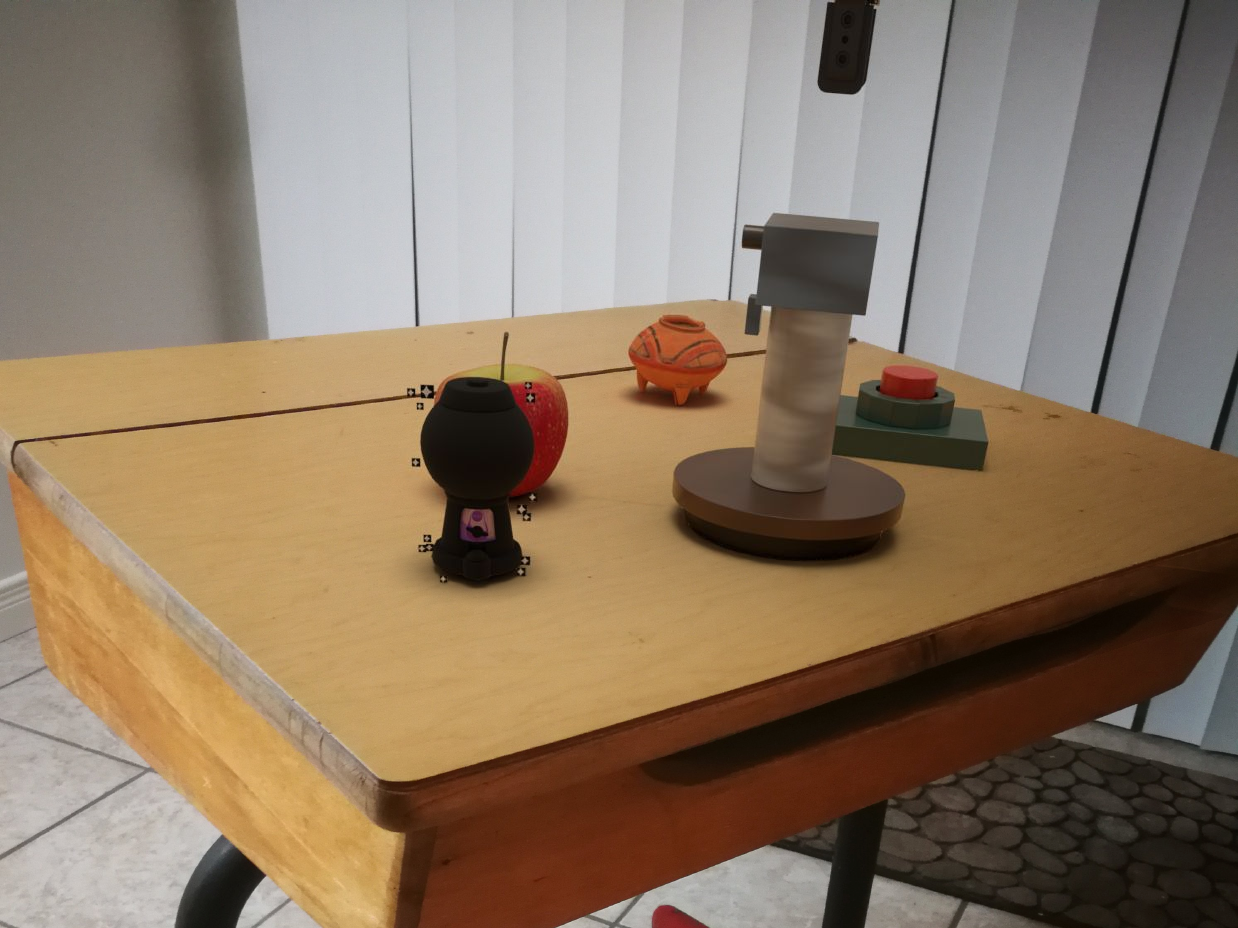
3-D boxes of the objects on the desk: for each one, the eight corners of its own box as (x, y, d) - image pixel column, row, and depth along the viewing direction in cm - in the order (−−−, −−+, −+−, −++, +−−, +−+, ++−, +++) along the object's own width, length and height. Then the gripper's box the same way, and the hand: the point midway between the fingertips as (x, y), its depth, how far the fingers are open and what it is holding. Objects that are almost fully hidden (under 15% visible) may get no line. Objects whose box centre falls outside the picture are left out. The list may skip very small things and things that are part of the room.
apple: (441, 514, 76) (438, 340, 71) (429, 471, 83) (425, 309, 78) (576, 513, 78) (583, 342, 73) (553, 470, 85) (558, 312, 80)
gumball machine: (408, 586, 67) (402, 391, 61) (415, 546, 72) (410, 362, 66) (536, 590, 67) (542, 397, 62) (534, 549, 72) (538, 368, 67)
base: (881, 506, 83) (885, 486, 82) (879, 571, 73) (883, 550, 72) (699, 485, 84) (701, 465, 83) (672, 546, 74) (674, 524, 73)
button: (933, 393, 94) (937, 368, 94) (934, 406, 91) (939, 380, 90) (878, 387, 95) (883, 362, 94) (878, 400, 92) (882, 375, 91)
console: (975, 438, 98) (987, 385, 96) (982, 472, 90) (994, 415, 88) (820, 421, 99) (827, 368, 97) (813, 453, 92) (821, 397, 90)
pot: (675, 375, 108) (696, 296, 104) (730, 420, 104) (755, 340, 100) (599, 381, 104) (618, 299, 99) (654, 428, 100) (676, 344, 95)
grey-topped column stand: (901, 479, 82) (949, 219, 74) (902, 553, 71) (958, 253, 62) (688, 455, 84) (711, 198, 76) (655, 523, 73) (678, 228, 64)
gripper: (993, -364, 51) (916, 103, 59) (975, -289, 63) (913, 91, 71) (805, -371, 52) (757, 90, 60) (822, -295, 63) (780, 81, 72)
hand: (841, 90), depth 66 cm, fingers open, 8 cm apart
